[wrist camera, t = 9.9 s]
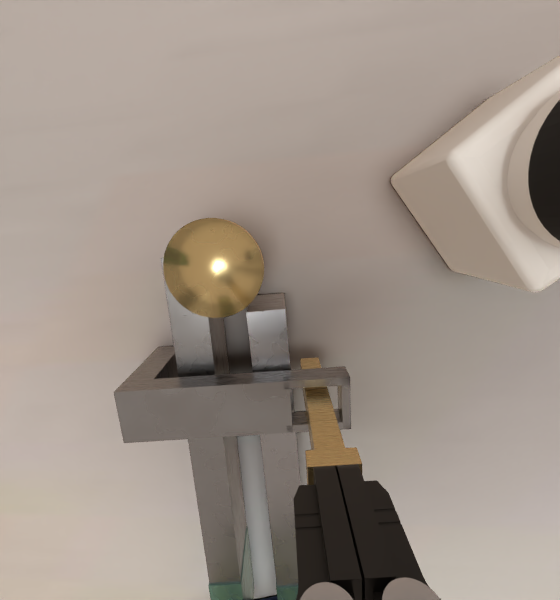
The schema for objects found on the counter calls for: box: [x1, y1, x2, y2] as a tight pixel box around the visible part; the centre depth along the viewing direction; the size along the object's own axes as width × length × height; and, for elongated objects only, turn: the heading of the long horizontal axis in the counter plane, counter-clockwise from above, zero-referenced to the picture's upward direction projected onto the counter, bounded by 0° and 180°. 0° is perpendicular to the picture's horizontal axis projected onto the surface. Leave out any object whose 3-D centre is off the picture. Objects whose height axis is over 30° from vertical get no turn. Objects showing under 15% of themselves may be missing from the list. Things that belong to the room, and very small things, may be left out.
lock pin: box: [300, 358, 362, 485], centre depth 15 cm, size 2×2×9 cm
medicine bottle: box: [391, 55, 560, 292], centre depth 14 cm, size 7×7×12 cm
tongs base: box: [114, 218, 351, 600], centre depth 20 cm, size 11×29×6 cm, turn 4°
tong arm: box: [246, 293, 300, 600], centre depth 21 cm, size 2×24×4 cm, turn 5°
